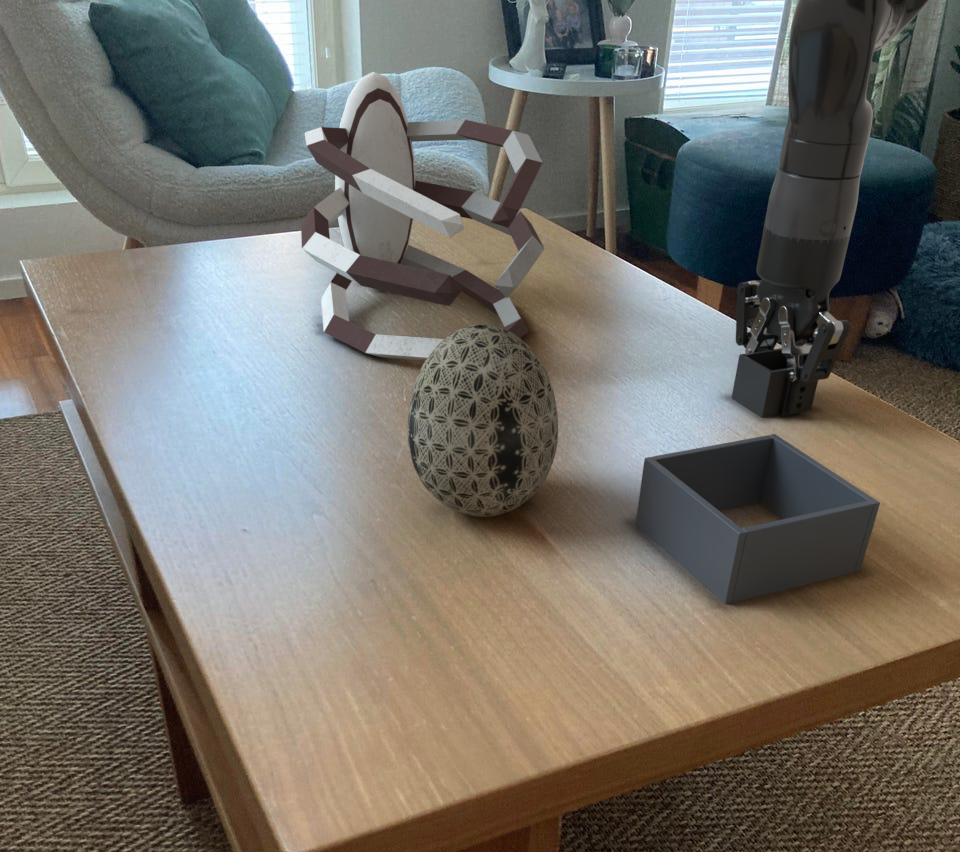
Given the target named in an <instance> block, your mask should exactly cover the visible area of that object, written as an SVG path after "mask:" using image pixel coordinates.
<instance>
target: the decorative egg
mask: <svg viewBox="0 0 960 852" xmlns="http://www.w3.org/2000/svg"><path fill="white" fill-rule="evenodd" d="M503 328H504V327H500V326H497V325H493V324H487V323H483V324H482V323H480V324H479V323H478V324H472V325H468V326H464V327H462V328H460V329H457V330H455V331H454V332H452V333H450V334H449V335H448V336H446V337H445V338H443V339H444V340H443V341H442V342H440V343H439V344H438V345H437V346H436V347H435V349H434V350H433V351H432V352H431V354H430V355H429V356H428V358H427V359H426V361H423V364H422V366H421V368H420V370H419V372H418V375H417V376H416V379H415V382H414V384H413V387H412V389H411V395H410V398H409V404H408V410H407V422H406V430H407V432H406V433H407V444H408V445H407V446H408V449H409V455H410V459H411V462H412V466H413V468H414V470H415V472H416V474H417V477H418V478H419V480H420V482H421V483H422V485H423V486H424V487H425V488H426V490H427V491H428V492H429V494H431V495H432V497H433V498H435V499H436V500H437V501H439V502H440V503H441V504H442V505H444V506H445V507H447V508H449V509H451V510H453V511H454V512H457V513H460V514H462V515H466V516H470V517H475V518H477V517H478V518H490V517H496V516H499V515H504V514H506V513H509V512H512V511H514V510H516V509H517V508H520V507H521V506H522V505H524V504H525V503H526V502H528V501H529V500H530V499H532V497H534V495H535V494H536V493H537V492H538V491H539V490H540V488H541V487H542V486H543V484H544V483H545V481H546V480H547V477H548V476H549V474H550V472H551V469H552V466H553V463H554V460H555V457H556V453H557V448H558V442H559V415H558V407H557V401H556V396H555V392H554V388H553V385H552V383H551V380H550V376H549V374H548V372H547V370H546V368H545V366H544V364H543V363H542V361H541V360H540V358H539V357H538V355H537V354H536V353H535V352H534V350H533V349H532V348H531V347H530V346H529V345H528V344H527V343H526V342H525V341H524V340H522V338H521V339H520V338H519V337H517V336H516V335H515V334H513V333H511V332H510V331H508V330H505V329H503Z"/></svg>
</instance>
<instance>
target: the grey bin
mask: <svg viewBox="0 0 960 852" xmlns="http://www.w3.org/2000/svg"><path fill="white" fill-rule="evenodd" d="M757 503H760V504H762V505H763V506H764V507H765V508H767V509H768V510H769V511H770V512H772V513H773V514H775V515H776V516H778V517H779V518H780V519H779V520H774V521H769V522H764V523H760V524H756V525H751V526H747V527H740V526H739V525H738V524H737V523H735V522H734V521H733V520H732V519H731V518H729V517H728V516H727V515H725V514H724V513H723V512H722V511H724V510H728V509H734V508H738V507H743V506H748V505H752V504H757ZM880 505H881V502H880V501H879V500H878V499H875V498H874V497H872V496H871V495H869V494H868V493H866V492H865V491H864V490H862V489H860V488H858V487H857V486H855V485H854V484H853V483H851V482H849V481H848V480H846V479H845V478H844V477H842V476H840V475H839V474H837V473H836V472H834V471H833V470H831V469H829V468H828V467H826V465H824V464H822V463H820V462H819V461H817V460H816V459H814V458H812V456H810V455H808V454H807V453H805V452H803V451H802V450H800V449H799V448H798V447H796V446H795V445H793V444H791V443H790V442H788V441H786V440H785V439H783V437H780V436H779V435H777V434H776V433H772V434H767V435H762V436H757V437H751V438H745V439H740V440H734V441H731V442H730V441H729V442H723V443H719V444H713V445H708V446H701V447H695V448H692V449H691V448H690V449H686V450H681V451H674V452H670V453H669V452H668V453H663V454H658V455H653V456H647V457H644V460H643V467H642V474H641V482H640V489H639V497H638V504H637V511H636V517H635V525H636V526H637V527H638V528H639V529H640V530H641V531H643V533H645V534H646V535H647V536H648V537H649V539H651V540H653V541H654V542H655V543H656V544H657V546H659V547H660V548H661V549H662V550H663V551H665V552H666V553H667V554H668V555H669V556H670V557H671V558H672V559H674V560H675V561H676V562H677V563H678V564H679V565H680V566H681V567H682V568H684V569H685V571H686V572H688V573H689V574H690V575H691V576H693V577H694V578H695V579H696V580H697V581H698V582H699V583H700V584H701V585H702V586H703V587H704V588H706V589H707V590H708V591H709V592H710V593H711V594H712V595H713V596H715V598H717V599H718V600H719V601H720V602H721V603H723V604H724V605H730V604H733V603H736V602H737V603H738V602H742V601H745V600H749V599H753V598H754V599H755V598H756V597H757V598H758V597H761V596H764V595H769V594H773V593H777V592H781V591H785V590H789V589H794V588H798V587H802V586H805V585H810V584H814V583H818V582H821V581H825V580H829V579H833V578H839V577H841V576H846V575H849V574H853V573H857V572H860V571H861V569H862V566H863V563H864V559H865V556H866V553H867V550H868V546H869V543H870V539H871V535H872V532H873V528H874V526H875V523H876V519H877V515H878V512H879V510H880V509H879V508H880Z"/></svg>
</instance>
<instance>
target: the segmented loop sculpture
mask: <svg viewBox="0 0 960 852" xmlns="http://www.w3.org/2000/svg"><path fill="white" fill-rule="evenodd" d="M304 138H305V145H306V148H307V149H308V151H309V153H310V154H311V155H312V157H313V159H314V160H315V162H316V164H317V165H319V166H321V167H322V168H324V169H325V170H327V171H328V172H330V173H331V174H333V175H334V191H333V192H331V194H329V195H327V196H326V197H325V198H323V199H322V200H321V201H320V202H318V203H317V204H316V205H315V206H313V207H312V209H311V210H310V211H309V213H307V215H306V216H305V217H304V219H303V220H302V221H301V222H300V235H301V249H302V250H303V251H304V252H305V253H306V254H307V255H308V256H309V257H311V258H312V259H313V260H314V261H315V262H317V263H318V264H320V265H321V266H323V267H326V268H327V269H328V270H331V271H333V272H335V275H334V276H333V277H332V279H331V280H330V282H329V284H328V285H327V288H326V289H325V291H324V293H323V295H322V296H321V298H320V302H321V304H320V305H321V315H322V316H321V317H322V328H323V333H324V334H326V335H329V336H330V337H333V338H334V339H336V340H338V341H340V342H343V343H344V344H347V345H348V346H351V347H352V348H354V349H356V350H358V351H360V352H361V353H362V352H363V353H365V354H368V355H372V356H376V357H379V358H384V359H385V358H386V359H397V360H410V361H420V362H421V361H422V362H425V361H426V359H427V358H428V356H429V355H430V354H431V352H432V351H433V350H434V349H435V347H436V346H437V345H438V344H439V343H440V342H442V341H443V340H444V339H445V338H437V337H436V338H435V337H422V336H421V337H420V336H408V335H407V336H405V335H392V334H391V335H390V334H377V333H374V332H372V331H370V330H367V329H366V328H364V327H361V326H360V325H357V324H355V323H353V322H351V321H350V315H349V307H348V300H347V299H348V298H347V292H346V291H347V290H348V288H349V286H350V285H351V283H355V284H357V285H359V286H361V287H364V288H369V289H373V290H378V291H382V292H387V293H390V294H395V295H399V296H403V297H408V298H412V299H415V300H416V299H417V300H420V301H425V302H429V303H432V304H437V305H441V306H447V307H450V306H451V305H452V304H453V302H454V301H455V300H456V299H457V298H458V296H459V295H460V294H461V293H463V294H465V295H467V296H468V297H470V298H471V299H473V301H476V302H478V303H479V304H481V305H482V306H484V307H485V308H487V309H488V310H490V311H492V312H493V313H494V314H497V315H498V317H499V319H500V321H501V323H502V324H503V327H502V328H503V329H505V330H508V331H510V332H511V333H513V334H515V335H516V336H517V337H519V338H520V339H521V340H522V338H523V337H524V335H526V334H527V333H528V331H529V330H528V328H527V326H526V325H525V323H524V321H523V319H522V317H521V316H520V313H519V312H518V310H517V308H516V307H515V305H514V303H513V301H512V299H511V298H510V296H511V295H512V294H513V292H514V291H515V290H516V289H517V287H518V286H520V284H521V283H522V282H523V280H524V279H525V278H526V276H527V275H528V273H529V272H530V270H531V269H532V268H533V266H534V265H535V263H536V262H537V261H538V260H539V257H540V256H541V255H542V254H543V252H544V250H545V249H546V248H545V247H544V245H543V242H542V241H541V239H540V237H539V235H538V233H537V232H536V229H535V228H534V225H533V223H531V221H530V220H529V219H528V218H527V217H526V216H525V214H524V213H523V212H522V211H521V207H522V205H523V203H524V202H525V200H526V198H527V195H528V193H529V191H530V190H531V187H532V185H533V183H534V181H535V179H536V177H537V175H538V173H539V171H540V169H541V167H542V165H543V160H542V159H541V156H540V154H539V152H538V151H537V148H536V146H535V145H534V143H533V141H532V139H531V137H530V135H529V134H527V133H524V132H520V131H517V130H513V129H508V128H504V127H498V126H496V125H491V124H486V123H482V122H477V121H474V120H468V119H451V120H449V119H448V120H429V121H428V120H426V121H409V119H408V116H407V112H406V111H405V107H404V104H403V102H402V100H401V96H400V94H399V93H398V91H397V90H396V88H395V87H394V86H393V84H392V83H391V81H390V80H389V78H388V77H387V76H386V75H383V74H381V73H378V72H376V71H371V72H369V73H367V74H365V75H364V76H362V77H360V78H359V79H358V80H357V82H356V83H355V85H354V87H353V88H352V90H351V92H350V93H349V95H348V96H347V100H346V103H345V106H344V109H343V112H342V116H341V119H340V122H339V127H332V126H331V127H329V126H319V127H316V128H314V129H311V130H308V131H305V132H304ZM442 141H444V142H445V141H476V142H479V143H484V144H488V145H492V146H495V147H499V148H503V149H504V151H505V153H506V156H507V158H508V160H509V163H510V164H511V166H512V169H513V171H514V173H515V174H514V176H513V178H512V180H511V181H510V184H509V186H508V188H507V190H506V191H505V194H504V195H503V198H502V199H501V202H500V201H498V200H495V199H493V198H490V197H487V196H485V195H484V194H480V193H479V192H476V191H473V190H472V191H471V190H466V189H463V188H462V189H461V188H456V187H452V186H446V185H441V184H436V183H430V182H424V181H420V180H416V165H415V151H414V145H413V143H415V142H416V143H417V142H442ZM462 218H465V219H470V220H473V221H476V222H478V223H481V224H483V225H485V226H487V227H490V228H492V229H494V230H497V231H498V232H501V233H503V234H506V235H508V236H510V237H511V239H512V241H513V243H514V245H515V247H516V249H517V251H518V252H517V254H516V255H515V256H514V257H513V259H512V260H511V262H510V263H509V264H508V265H507V266H506V268H505V269H504V271H503V272H502V274H500V276H499V277H498V279H497V280H496V281H495V283H494V284H493V285H491V284H489V283H488V282H487V281H485V280H483V279H482V278H481V277H478V276H477V275H475V274H474V273H472V272H470V271H468V270H467V269H465V268H463V267H460V266H459V265H456V264H453V263H452V262H450V261H447V260H445V259H442V258H440V257H437V256H435V255H433V254H431V253H428V252H426V251H424V250H421V249H419V248H417V247H416V246H412V245H410V238H411V233H412V228H413V225H414V224H413V223H414V221H416V222H418V223H420V224H422V225H424V226H426V227H428V228H430V229H432V230H434V231H435V232H438V233H439V234H442V235H443V236H445V237H447V238H449V239H452V238H454V237H455V236H456V235H458V234H460V233H461V232H463V231H464V230H466V227H465V225H464V222H463V219H462ZM336 220H337V221H338V222H337V223H338V226H339V231H340V234H341V239H342V244H343V245H341V244H340V243H338V242H336V241H334V240H332V239H331V237H330V227H329V226H330V225H331V224H333V222H335V221H336Z"/></svg>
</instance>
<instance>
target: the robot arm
mask: <svg viewBox="0 0 960 852" xmlns="http://www.w3.org/2000/svg"><path fill="white" fill-rule="evenodd" d="M929 1H930V0H797V2H796V5H795V9H794V13H793V17H792V20H791V21H792V22H791V26H790V32H789V33H790V34H789V42H788V44H789V45H788V76H787V92H788V93H787V94H788V115H787V119H786V123H785V127H784V132H783V137H782V144H781V149H780V153H779V160H778V165H777V168H776V173H775V177H774V180H773V183H772V185H771V190H770V193H769V197H768V203H767V207H766V213H765V218H764V224H763V230H762V235H761V239H760V241H761V242H760V246H759V252H758V258H757V262H756V269H755V270H756V274H757V276H758V277H759V278H760V280H749V281H744V282H739V283H738V285H737V289H736V321H735V343H736V345H737V346H742V347H743V348H744V349H745V351H744V354H746V353H752V352H759V351H766V350H772V349H776V346H777V344H778V341H779V340H780V341H781V348H782V354H783V356H785V357H786V363H787V379H786V380H785V384H784V388H783V393H782V398H781V403H780V407H779V415H778V416H780V417H782V418H789V417H795V416H799V415H800V414H801V413H802V412H804V411H803V409H804V406H805V401H806V397H807V393H808V388H809V384H810V382H811V381H816V380H818V381H821V380H826V379H828V378H829V377H830V375H831V374H832V371H833V368H834V366H835V365H836V362H837V360H838V357H839V355H840V352H841V351H842V348H843V346H844V344H845V342H846V340H847V336H848V335H849V332H850V329H851V324H850V321H849V320H847V319H840V320H838V319H837V318H835V317H834V315H832V314H831V313H830V293H831V290H832V289H833V288H834V287H835V286H836V285H837V284H838V283H839V281H840V280H841V276H842V272H843V268H844V264H845V259H846V254H847V250H848V246H849V242H850V237H851V233H852V228H853V225H854V221H855V216H856V212H857V207H858V201H859V193H860V184H861V183H860V181H861V177H862V172H863V167H864V163H865V160H866V159H865V158H866V154H867V150H868V146H869V141H870V137H871V132H872V126H873V119H874V112H873V111H874V110H873V107H872V104H871V103H870V101H869V100H868V99H867V92H868V88H869V87H868V86H869V80H870V73H871V67H872V63H873V62H872V61H873V56H874V53H877V52H878V51H880V50H881V49H883V48H885V47H886V46H887V45H889V43H891V42H892V41H893V40H894V39H895V38H896V37H897V36H899V34H900V33H901V32H903V31H904V29H905V28H907V26H908V25H910V23H911V22H913V20H914V19H915V17H916V16H917V15H918V14H919V13H920V12H921V10H923V8H924V7H925V6H926V5H927V4H928V2H929ZM750 320H752V321H751V322H752V323H751V328H750V330H749V331H748V323H749V321H750ZM803 341H805V343H804V344H803V345H796V343H797V342H803ZM800 355H803V367H799V356H800ZM819 363H820V365H819V366H818V364H819Z"/></svg>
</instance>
